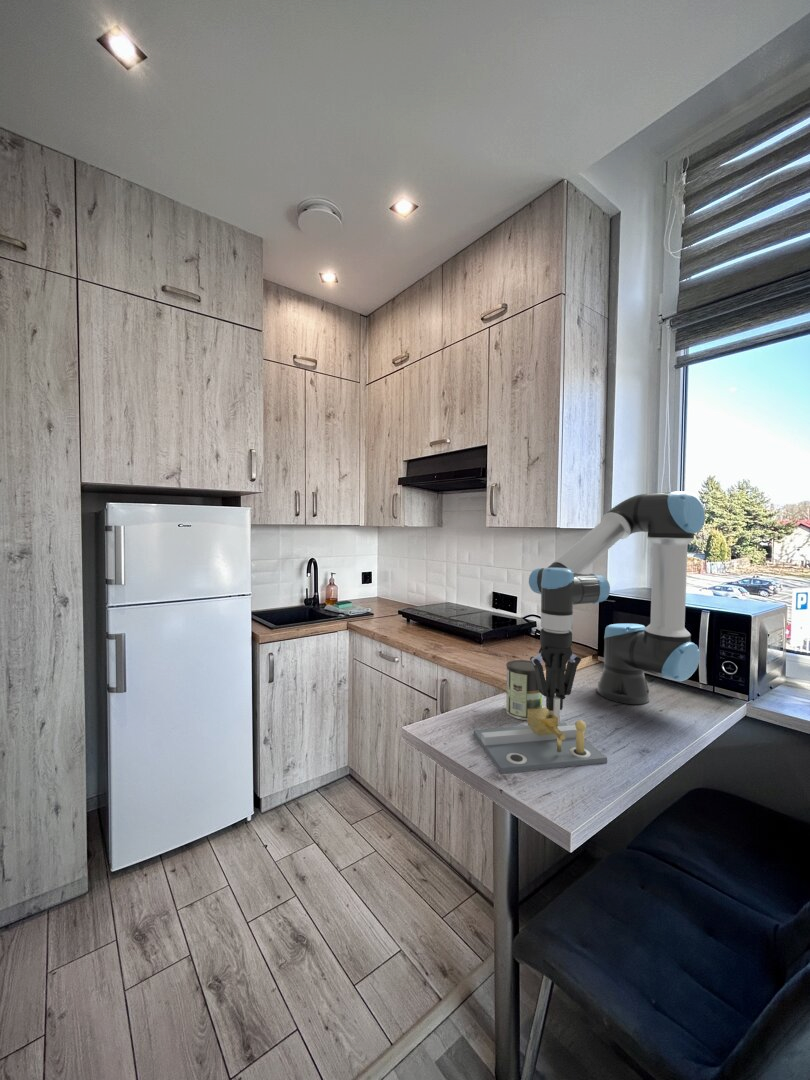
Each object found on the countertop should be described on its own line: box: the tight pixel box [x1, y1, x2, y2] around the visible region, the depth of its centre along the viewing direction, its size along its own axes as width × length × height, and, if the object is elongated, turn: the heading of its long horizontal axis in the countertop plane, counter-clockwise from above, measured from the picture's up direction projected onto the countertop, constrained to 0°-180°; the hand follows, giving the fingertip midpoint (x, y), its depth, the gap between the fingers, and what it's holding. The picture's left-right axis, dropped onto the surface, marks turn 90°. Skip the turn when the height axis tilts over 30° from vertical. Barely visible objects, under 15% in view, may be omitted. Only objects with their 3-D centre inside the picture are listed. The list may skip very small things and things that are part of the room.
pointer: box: [526, 707, 565, 752], centre depth 105 cm, size 5×12×6 cm, turn 11°
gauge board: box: [472, 719, 608, 774], centre depth 106 cm, size 26×18×9 cm
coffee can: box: [505, 659, 544, 721], centre depth 125 cm, size 10×10×14 cm
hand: (554, 722), depth 109 cm, fingers closed
